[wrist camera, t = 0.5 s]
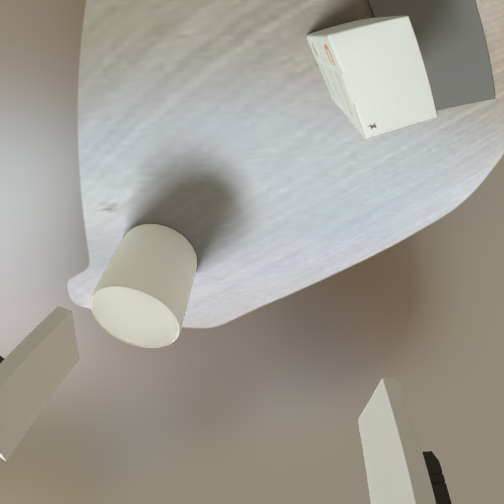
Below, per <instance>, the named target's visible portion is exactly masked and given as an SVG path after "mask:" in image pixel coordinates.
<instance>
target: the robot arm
mask: <svg viewBox="0 0 504 504" xmlns="http://www.w3.org/2000/svg"><path fill="white" fill-rule="evenodd" d="M78 360H79V354H78V348H77V342H76V336H75V329H74V323H73V315H72V311H70V310H68V309H65V308H62V307H59V306H58V307H57V308H56V309H55V310H54V311H53V312H52V313H51V314H49V315H48V316H47V317H46V318H45V319H44V320H43V321H42V322H41V323H40V324H39V325H38V326H37V327H36V328H35V329H34V330H33V331H32V332H31V333H30V334H29V335H28V336H27V337H26V338H25V339H24V340H23V341H22V342H21V343H20V344H19V345H18V346H17V347H16V348H15V349H14V350H13V351H12V352H11V353H10V354H9V355H8V356H7V357H6V358H5V359H4V358H2V357H1V356H0V457H1V458H2V459H4V460H5V461H7V460H8V458H9V457H10V455H11V454H12V452H13V451H14V449H15V448H16V446H17V445H18V443H19V442H20V440H21V439H22V437H23V436H24V434H25V433H26V431H27V430H28V429H29V427H30V426H31V424H32V423H33V421H34V420H35V418H36V417H37V416H38V414H39V413H40V411H41V410H42V409H43V407H44V406H45V404H46V403H47V402H48V400H49V399H50V398H51V396H52V395H53V393H54V392H55V391H56V389H57V388H58V387H59V385H60V384H61V383H62V381H63V380H64V379H65V377H66V376H67V374H68V373H69V372H70V370H71V369H72V368H73V367H74V365H75V364H76V363H77V361H78ZM358 423H359V429H360V434H361V441H362V447H363V453H364V459H365V465H366V472H367V479H368V486H369V493H370V501H371V504H451V501H450V497H449V493H448V490H447V486H446V484H445V479H444V476H443V475H442V469H441V466H440V463H439V461H438V459H437V458H436V457H435V455H434V454H433V453H432V451H431V452H422V450H421V446H420V443H419V440H418V436H417V433H416V430H415V427H414V424H413V421H412V418H411V415H410V412H409V409H408V406H407V403H406V400H405V397H404V394H403V391H402V388H401V386H400V383H399V380H398V379H391V378H382V380H381V381H380V383H379V385H378V387H377V388H376V390H375V392H374V394H373V395H372V397H371V399H370V400H369V402H368V404H367V406H366V407H365V409H364V411H363V412H362V414H361V415H360V417H359V419H358Z"/></svg>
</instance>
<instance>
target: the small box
mask: <svg viewBox="0 0 504 504" xmlns="http://www.w3.org/2000/svg"><path fill="white" fill-rule="evenodd" d="M306 38H307V40H308V43H309V45H310V47H311V50H312V52H313V54H314V56H315V59H316V61H317V63H318V66H319V68H320V70H321V73H322V75H323V78H324V80H325V82H326V85H327V87H328V90H329V92H330V95H331V97H332V99H333V101H334V102H335V103H336V105H337V106H338V107H339V108H340V109H341V110H342V111H343V112H344V114H345V115H346V116H347V117H348V119H349V120H350V121H351V122H352V124H353V125H354V126H355V127H356V128H357V130H358V131H359V132H360V133H361V135H362V136H363V137H364V138H365V139H368V138H370V137H373V136H376V135H379V134H382V133H385V132H388V131H392V130H395V129H398V128H402V127H405V126H408V125H411V124H415V123H418V122H422V121H425V120H428V119H432V118H436V117H438V114H437V110H436V105H435V101H434V97H433V93H432V89H431V85H430V81H429V77H428V74H427V70H426V66H425V63H424V60H423V56H422V53H421V50H420V47H419V44H418V41H417V38H416V35H415V32H414V29H413V26H412V24H411V21H410V18H409V16H390V17H377V18H367V19H360V20H356V21H352V22H348V23H344V24H341V25H337V26H333V27H330V28H327V29H323V30H320V31H317V32H314V33H311V34H308V35H306Z"/></svg>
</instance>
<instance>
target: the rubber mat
mask: <svg viewBox="0 0 504 504" xmlns="http://www.w3.org/2000/svg"><path fill="white" fill-rule="evenodd" d="M368 2H369V4H370V7H371V9H372V12H373V15H374V17H375V18H377V17H390V16H409V18H410V21H411V24H412V26H413V29H414V32H415V35H416V38H417V41H418V44H419V47H420V50H421V53H422V56H423V60H424V63H425V66H426V70H427V74H428V77H429V81H430V85H431V89H432V93H433V97H434V101H435V105H436V110H441V109H446V108H450V107H455V106H460V105H464V104H469V103H475V102H480V101H485V100H491V99H495V92H494V85H493V78H492V72H491V66H490V61H489V56H488V51H487V46H486V42H485V37H484V33H483V29H482V25H481V21H480V18H479V14H478V10H477V7H476V4H475V0H368Z"/></svg>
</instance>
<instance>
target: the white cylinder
mask: <svg viewBox="0 0 504 504" xmlns="http://www.w3.org/2000/svg"><path fill="white" fill-rule="evenodd" d="M196 269H197V256H196V253H195V251H194V248H193V246H192V245H191V244H190V242H189V241H188V240H187V239H186V238H185V237H184V236H183V235H182V234H180V233H178V232H177V231H175V230H174V229H171V228H169V227H167V226H163V225H159V224H142V225H139V226H136V227H134V228H132V229H131V230H129V231H128V232H127V233H126V235H125V236H124V237H123V239H122V240H121V242H120V244H119V246H118V248H117V249H116V251H115V253H114V255H113V257H112V258H111V260H110V262H109V264H108V266H107V268H106V269H105V271H104V273H103V275H102V277H101V279H100V281H99V283H98V285H97V287H96V289H95V291H94V293H93V295H92V297H91V300H90V303H91V310H92V313H93V315H94V317H95V319H96V320H97V322H98V323H99V324H100V325H101V326H102V327H103V328H104V329H105V330H106V331H107V332H108V333H110V334H111V335H113V336H114V337H116V338H118V339H120V340H122V341H124V342H126V343H129V344H132V345H135V346H139V347H146V348H157V347H163V346H166V345H169V344H171V343H172V342H174V341H175V340H176V339H177V338H178V337H179V334H180V331H181V328H182V324H183V320H184V316H185V312H186V308H187V304H188V300H189V296H190V292H191V288H192V284H193V280H194V276H195V273H196Z"/></svg>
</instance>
